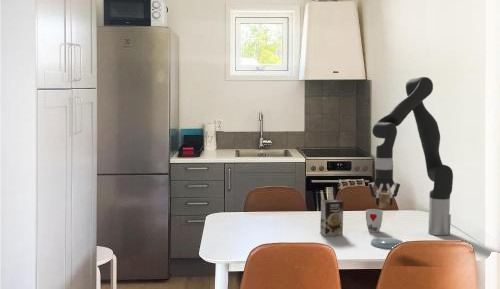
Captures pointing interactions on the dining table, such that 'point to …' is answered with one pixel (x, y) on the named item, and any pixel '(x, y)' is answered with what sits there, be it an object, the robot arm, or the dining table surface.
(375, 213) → the cup
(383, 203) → the block
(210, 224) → the dining table surface
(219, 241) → the dining table surface
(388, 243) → the dish
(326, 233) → the coffee box
